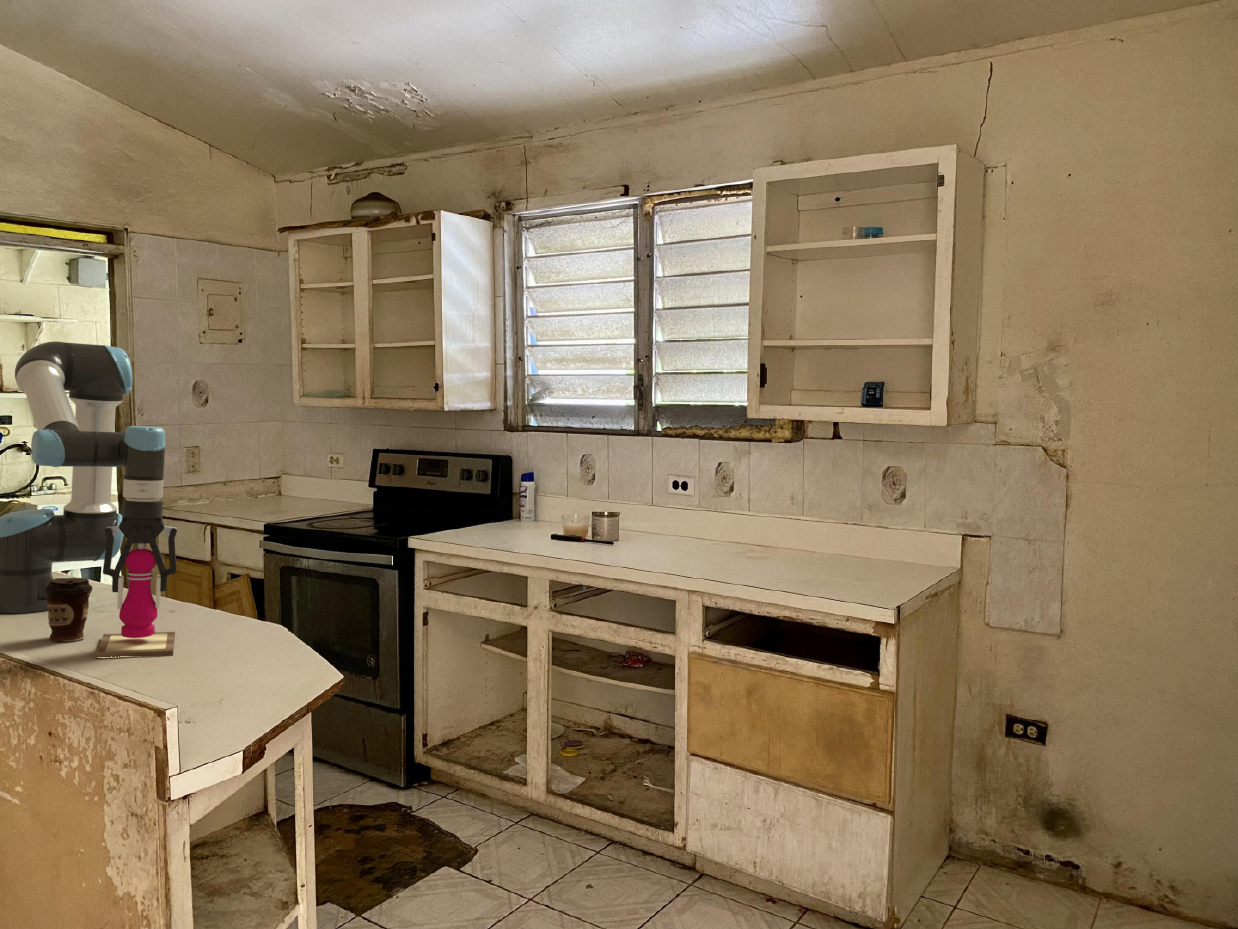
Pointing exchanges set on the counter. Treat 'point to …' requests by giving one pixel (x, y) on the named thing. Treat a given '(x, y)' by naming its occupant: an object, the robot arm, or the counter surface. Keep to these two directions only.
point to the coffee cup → (68, 607)
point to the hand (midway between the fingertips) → (138, 606)
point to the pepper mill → (139, 595)
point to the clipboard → (137, 645)
